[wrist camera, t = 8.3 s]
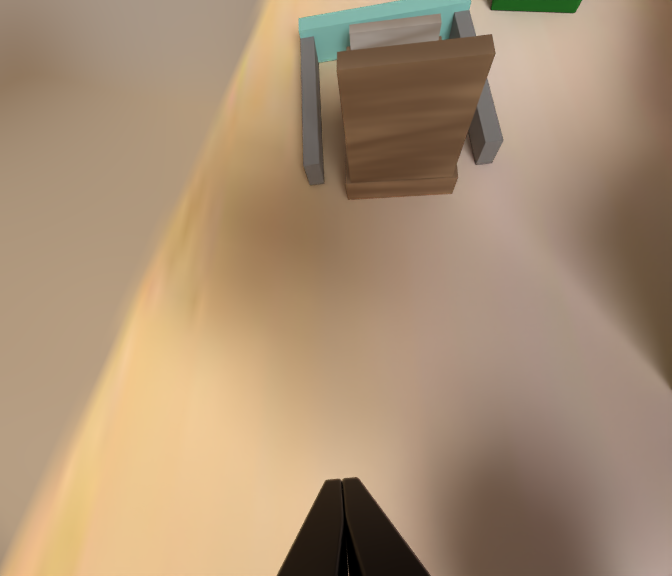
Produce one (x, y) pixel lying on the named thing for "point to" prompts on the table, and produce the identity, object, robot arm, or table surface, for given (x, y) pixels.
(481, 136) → the bay
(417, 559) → the robot arm
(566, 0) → the milk carton
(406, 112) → the wooden drawer
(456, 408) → the table surface
